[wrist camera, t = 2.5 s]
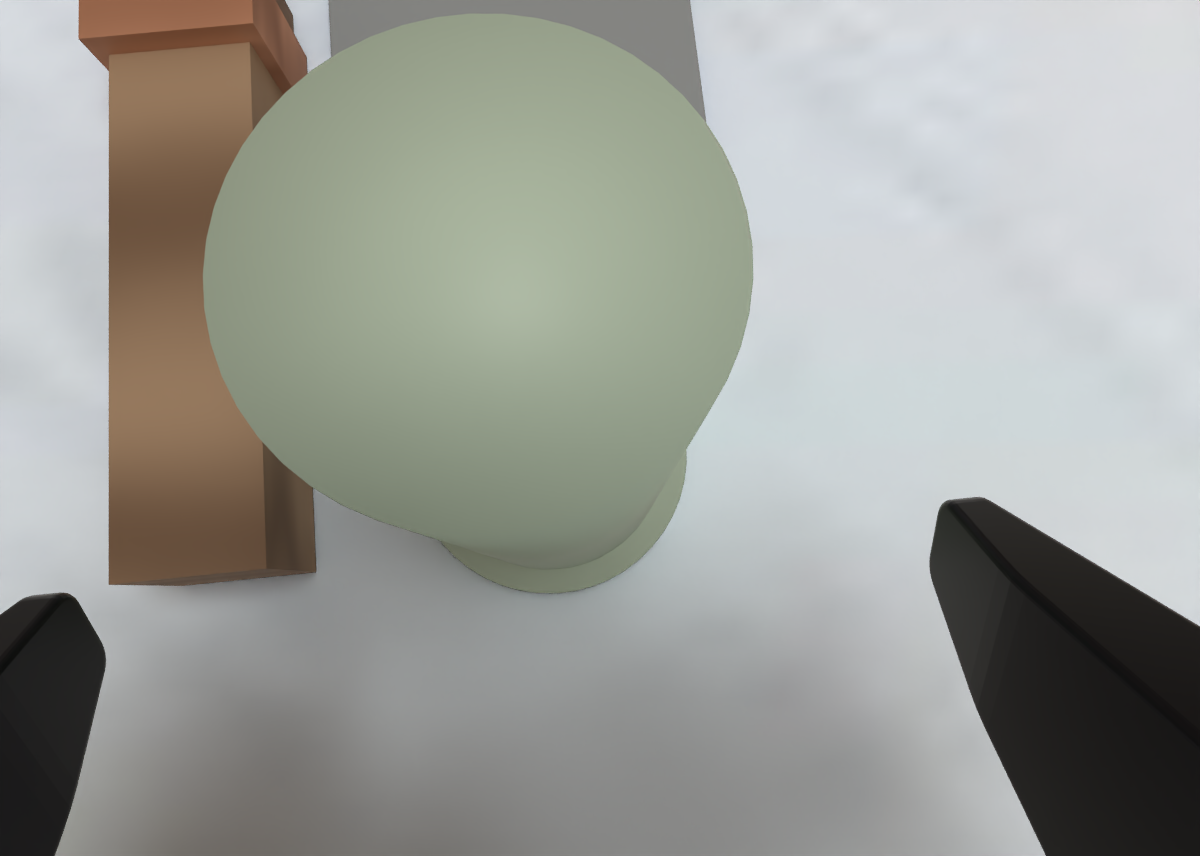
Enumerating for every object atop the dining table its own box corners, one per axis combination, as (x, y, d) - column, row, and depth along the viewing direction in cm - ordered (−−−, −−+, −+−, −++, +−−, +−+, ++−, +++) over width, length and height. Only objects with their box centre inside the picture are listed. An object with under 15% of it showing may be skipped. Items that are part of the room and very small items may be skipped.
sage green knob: (536, 649, 20) (427, 747, 7) (368, 447, 20) (18, 228, 8) (736, 473, 20) (946, 291, 8) (566, 285, 21) (519, -144, 9)
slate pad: (716, 218, 21) (718, 213, 21) (344, 253, 21) (341, 248, 21) (673, -105, 23) (674, -114, 23) (327, -74, 23) (324, -83, 23)
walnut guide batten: (329, 570, 20) (271, 566, 16) (168, 586, 20) (74, 585, 16) (304, 14, 22) (249, -95, 19) (161, 27, 22) (79, -80, 19)
